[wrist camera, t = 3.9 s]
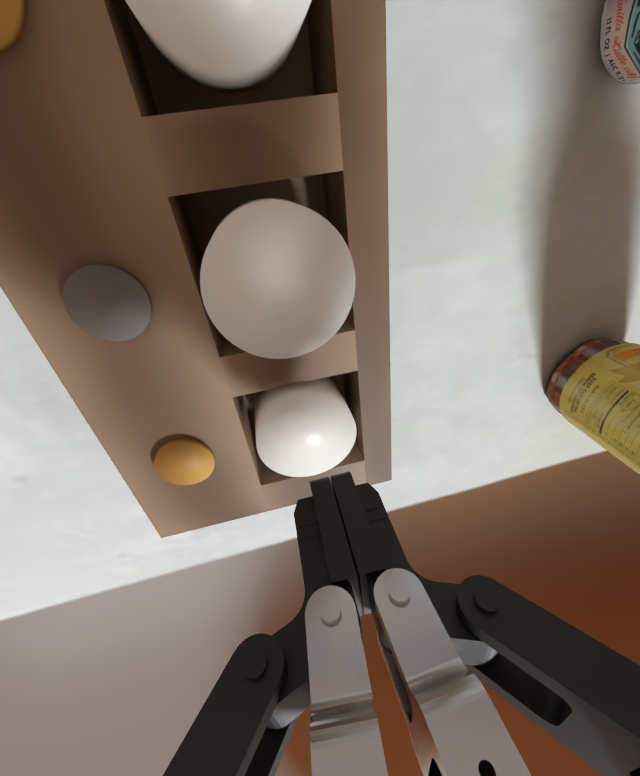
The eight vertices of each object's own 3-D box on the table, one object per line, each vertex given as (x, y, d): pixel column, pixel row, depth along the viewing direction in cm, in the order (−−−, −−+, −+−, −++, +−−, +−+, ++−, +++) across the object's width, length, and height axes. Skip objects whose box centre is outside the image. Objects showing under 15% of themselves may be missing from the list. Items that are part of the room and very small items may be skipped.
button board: (318, -199, 10) (385, -521, 5) (362, 423, 22) (393, 484, 18) (-148, -184, 8) (-580, -589, 4) (176, 466, 21) (160, 543, 16)
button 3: (335, 355, 16) (352, 387, 14) (343, 426, 19) (359, 464, 16) (244, 374, 16) (244, 410, 13) (264, 444, 18) (268, 486, 16)
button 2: (324, 187, 11) (349, 189, 9) (337, 313, 14) (359, 343, 11) (190, 207, 11) (175, 216, 8) (228, 334, 13) (225, 371, 11)
